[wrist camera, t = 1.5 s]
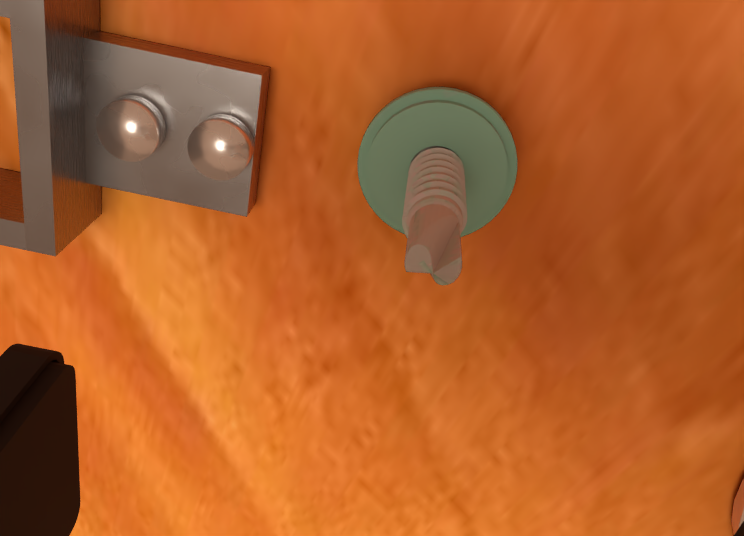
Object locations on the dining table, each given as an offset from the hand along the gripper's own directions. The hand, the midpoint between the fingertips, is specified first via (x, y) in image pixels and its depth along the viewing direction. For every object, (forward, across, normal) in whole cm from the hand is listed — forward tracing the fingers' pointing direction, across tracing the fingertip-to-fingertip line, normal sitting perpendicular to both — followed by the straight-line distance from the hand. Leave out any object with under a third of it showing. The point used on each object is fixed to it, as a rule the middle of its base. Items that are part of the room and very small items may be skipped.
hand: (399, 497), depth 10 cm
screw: (+16, -1, 0) cm, 16 cm away
